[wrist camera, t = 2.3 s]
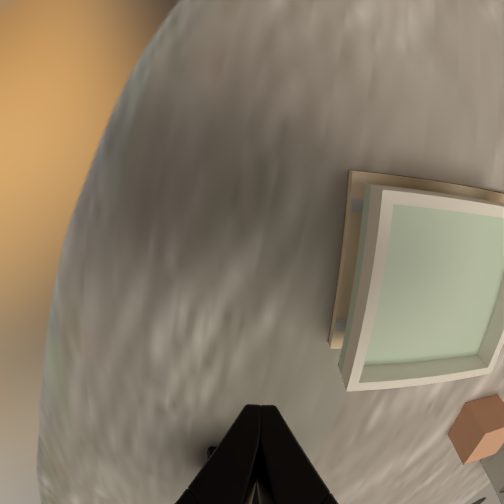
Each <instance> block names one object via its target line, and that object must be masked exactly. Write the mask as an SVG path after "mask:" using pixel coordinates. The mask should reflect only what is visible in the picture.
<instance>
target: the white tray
mask: <svg viewBox="0 0 504 504" xmlns="http://www.w3.org/2000/svg"><path fill="white" fill-rule="evenodd" d="M503 344H504V203H500V202H494V201H489V200H483V199H478V198H472V197H466V196H459V195H453V194H446V193H439V192H432V191H425V190H417V189H410V188H401V187H393V186H384V185H374V184H365V190H364V201H363V211H362V221H361V230H360V239H359V247H358V254H357V262H356V269H355V276H354V282H353V289H352V295H351V301H350V307H349V312H348V318H347V324H346V329H345V334H344V339H343V344H342V349H341V354H340V359H339V363H338V366H339V369H340V372H341V375H342V379H343V382H344V385H345V388H346V391H362V390H377V389H389V388H399V387H408V386H417V385H425V384H432V383H439V382H446V381H452V380H458V379H464V378H469V377H475V376H480V375H485V374H489V373H491V372H492V369H493V367H494V365H495V363H496V360H497V358H498V356H499V353H500V351H501V349H502V346H503Z"/></svg>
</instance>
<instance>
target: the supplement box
mask: <svg viewBox="0 0 504 504" xmlns="http://www.w3.org/2000/svg"><path fill="white" fill-rule="evenodd" d="M480 462H481V464H482V466H483V468H484V470H485V472H486V473H487V475H488V477H489V479H490V481H491V483H492V485H493V487H494V489H495V491H496V493H497V495H498V498H499V500H500V502H501V504H504V443H503V445H502V446H501V447H500V449H499V450H498V451H497V453H496V454H493V455H490V456H488V457H485V458H482V459H481V460H480Z"/></svg>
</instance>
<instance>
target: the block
mask: <svg viewBox="0 0 504 504" xmlns="http://www.w3.org/2000/svg"><path fill="white" fill-rule="evenodd" d="M448 436H449V438H450V440H451V441H452V443H453V445H454V447H455V449H456V451H457V453H458V455H459V457H460V459H461V461H462V463H463V465H465V464H468V463H471V462H474V461H477V460H480V459H482V458H485V457H488V456H490V455H493V454H496V453H497V451H498V450H499V449H500V447H501V446H502V445H503V443H504V402H503V401H502V400H501V398H500V397H499V396H498V395H494V396H490V397H486V398H482V399H478V400H474V401H470V402H466V403H465V404H464V406H463V408H462V410H461V412H460V414H459V416H458V417H457V419H456V421H455V423H454V425H453V426H452V428H451V430H450V431H449V433H448Z"/></svg>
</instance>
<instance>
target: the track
mask: <svg viewBox="0 0 504 504" xmlns="http://www.w3.org/2000/svg"><path fill="white" fill-rule="evenodd" d="M365 184H374V185H384V186H393V187H401V188H410V189H417V190H425V191H432V192H439V193H446V194H453V195H459V196H466V197H472V198H478V199H483V200H489V201H494V202H500V203H504V193H499V192H494V191H489V190H484V189H479V188H474V187H469V186H463V185H457V184H452V183H446V182H439V181H433V180H426V179H420V178H413V177H405V176H398V175H390V174H381V173H373V172H363V171H354V170H349V179H348V192H347V205H346V216H345V226H344V235H343V245H342V253H341V262H340V269H339V277H338V284H337V292H336V298H335V305H334V312H333V318H332V324H331V330H330V336H329V342H328V343H329V346H330V349H340V348H342V344H343V339H344V334H345V329H346V324H347V318H348V312H349V307H350V301H351V295H352V289H353V282H354V276H355V269H356V262H357V254H358V247H359V239H360V230H361V221H362V211H363V201H364V190H365Z"/></svg>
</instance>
